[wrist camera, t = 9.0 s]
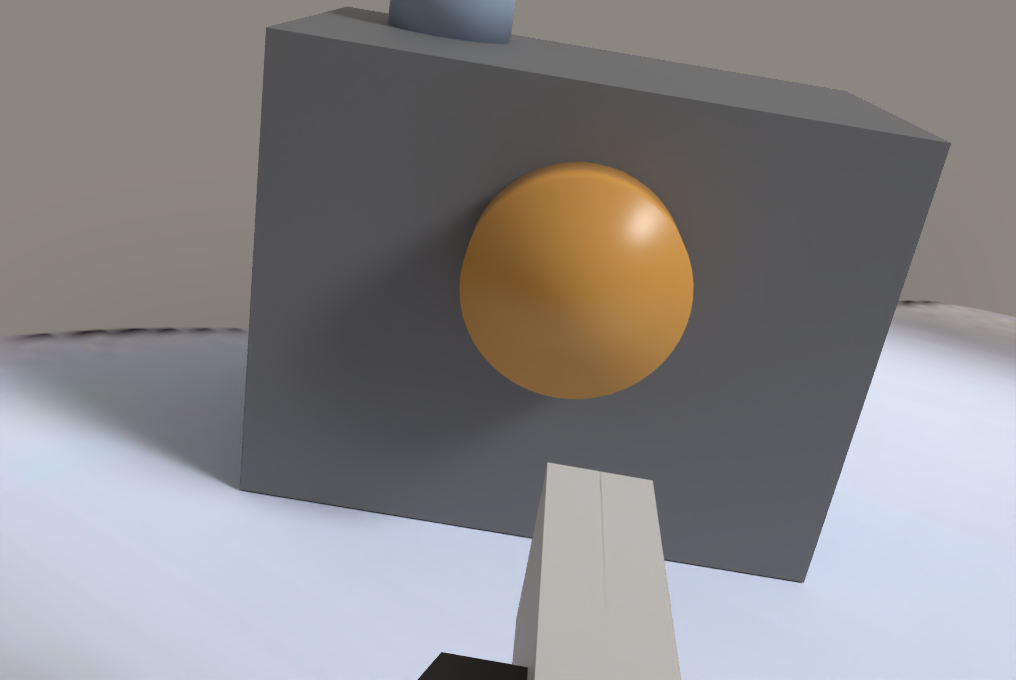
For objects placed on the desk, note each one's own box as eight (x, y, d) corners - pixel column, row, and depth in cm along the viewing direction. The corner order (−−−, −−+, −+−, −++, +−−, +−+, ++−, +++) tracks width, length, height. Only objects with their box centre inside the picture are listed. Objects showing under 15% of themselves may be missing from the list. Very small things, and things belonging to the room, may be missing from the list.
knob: (642, 314, 33) (682, 141, 31) (665, 415, 26) (718, 200, 23) (471, 285, 33) (497, 110, 31) (445, 379, 26) (476, 159, 23)
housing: (747, 434, 39) (845, 91, 34) (803, 582, 30) (951, 143, 25) (316, 362, 39) (347, 6, 34) (240, 489, 30) (266, 27, 25)
